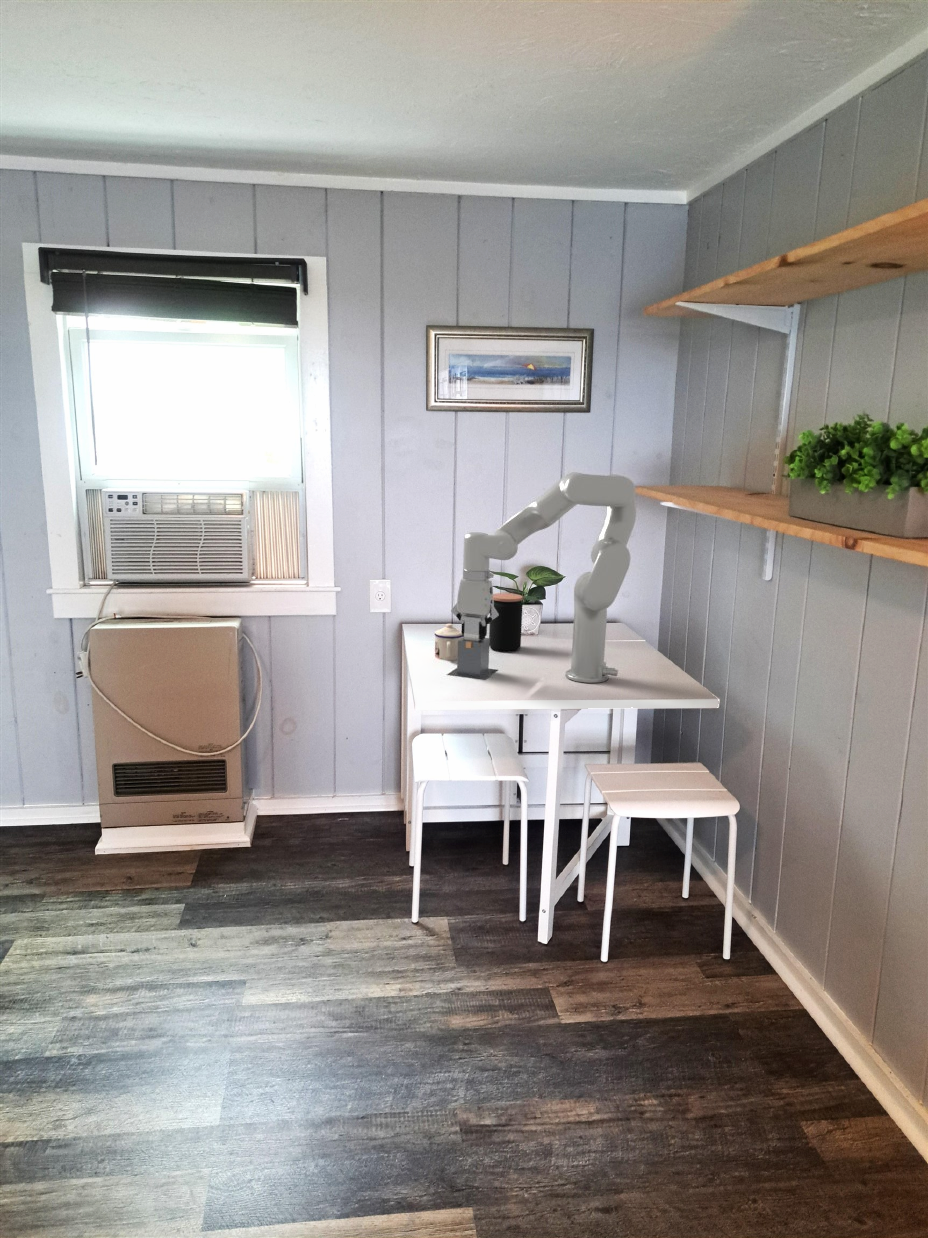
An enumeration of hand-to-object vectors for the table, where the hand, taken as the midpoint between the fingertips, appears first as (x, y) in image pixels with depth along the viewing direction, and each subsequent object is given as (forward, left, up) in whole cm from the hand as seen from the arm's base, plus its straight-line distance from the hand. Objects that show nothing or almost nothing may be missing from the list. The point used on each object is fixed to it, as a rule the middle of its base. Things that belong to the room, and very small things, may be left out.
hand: (473, 636), depth 246 cm
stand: (0, 0, -12) cm, 12 cm away
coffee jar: (+2, -36, -12) cm, 38 cm away
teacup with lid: (+13, -12, -12) cm, 21 cm away
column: (0, 0, -11) cm, 11 cm away
